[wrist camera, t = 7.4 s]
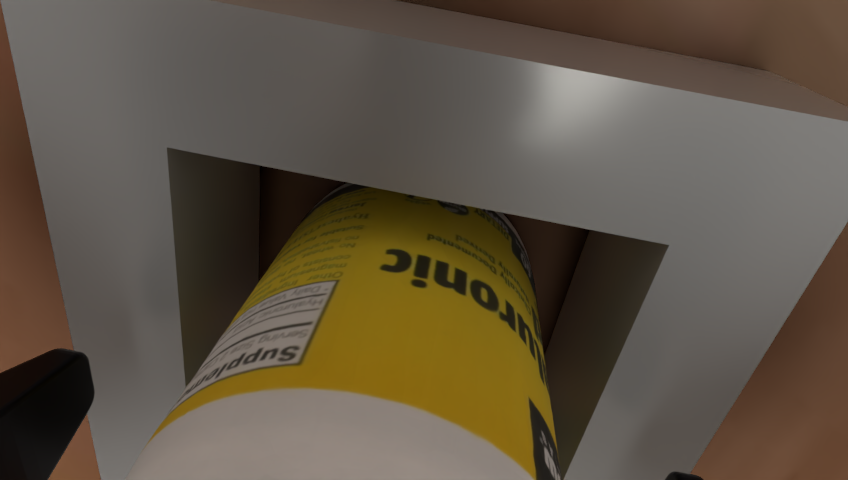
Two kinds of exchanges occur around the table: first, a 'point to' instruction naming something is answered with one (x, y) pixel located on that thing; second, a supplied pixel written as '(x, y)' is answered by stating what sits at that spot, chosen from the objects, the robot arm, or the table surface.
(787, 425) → the table surface
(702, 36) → the table surface
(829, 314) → the table surface
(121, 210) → the well
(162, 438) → the supplement bottle
